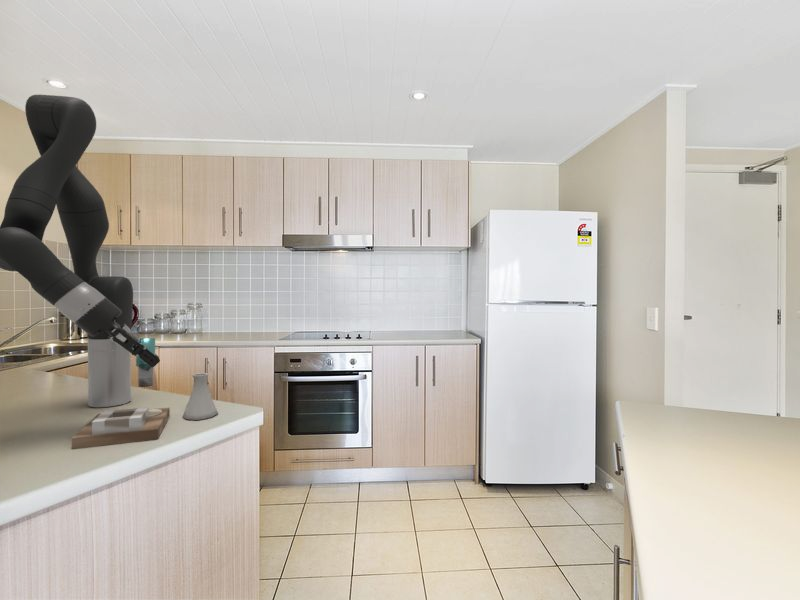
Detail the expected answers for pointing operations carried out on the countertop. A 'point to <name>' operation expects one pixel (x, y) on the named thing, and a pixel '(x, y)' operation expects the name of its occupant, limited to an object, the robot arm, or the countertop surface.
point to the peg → (145, 364)
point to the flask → (200, 400)
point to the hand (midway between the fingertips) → (156, 362)
